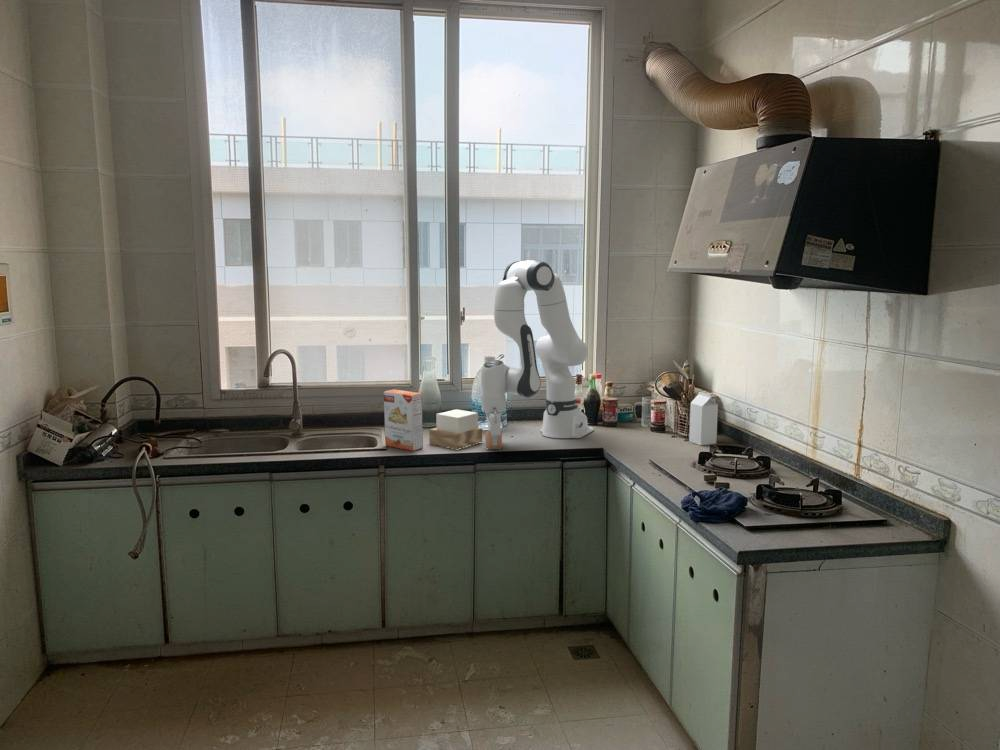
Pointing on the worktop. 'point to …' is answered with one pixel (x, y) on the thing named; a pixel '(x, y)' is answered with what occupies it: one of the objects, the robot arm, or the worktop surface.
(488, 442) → the pink cylinder
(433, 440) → the tower base
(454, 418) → the tower top
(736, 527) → the worktop surface
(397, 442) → the cracker box
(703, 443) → the milk carton
